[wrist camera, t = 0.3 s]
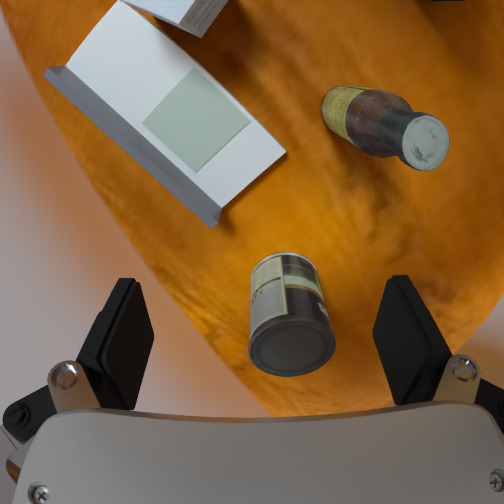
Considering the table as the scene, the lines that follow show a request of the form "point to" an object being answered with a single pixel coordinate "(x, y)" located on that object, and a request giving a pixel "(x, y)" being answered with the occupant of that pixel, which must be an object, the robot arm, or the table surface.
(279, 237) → the table surface
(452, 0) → the portable speaker
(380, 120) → the sauce bottle
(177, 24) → the supplement box
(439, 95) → the table surface
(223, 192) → the shelf board
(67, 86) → the rail
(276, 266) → the coffee can
